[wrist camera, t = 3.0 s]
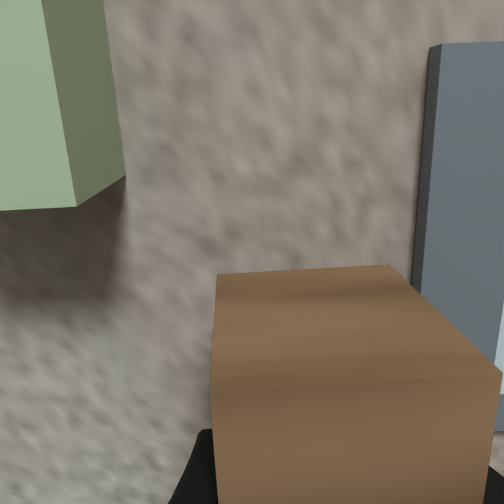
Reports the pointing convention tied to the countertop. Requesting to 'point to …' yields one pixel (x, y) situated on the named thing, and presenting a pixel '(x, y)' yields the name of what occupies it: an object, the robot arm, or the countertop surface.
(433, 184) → the board
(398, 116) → the countertop surface
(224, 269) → the countertop surface
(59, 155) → the green brick
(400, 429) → the walnut brick
